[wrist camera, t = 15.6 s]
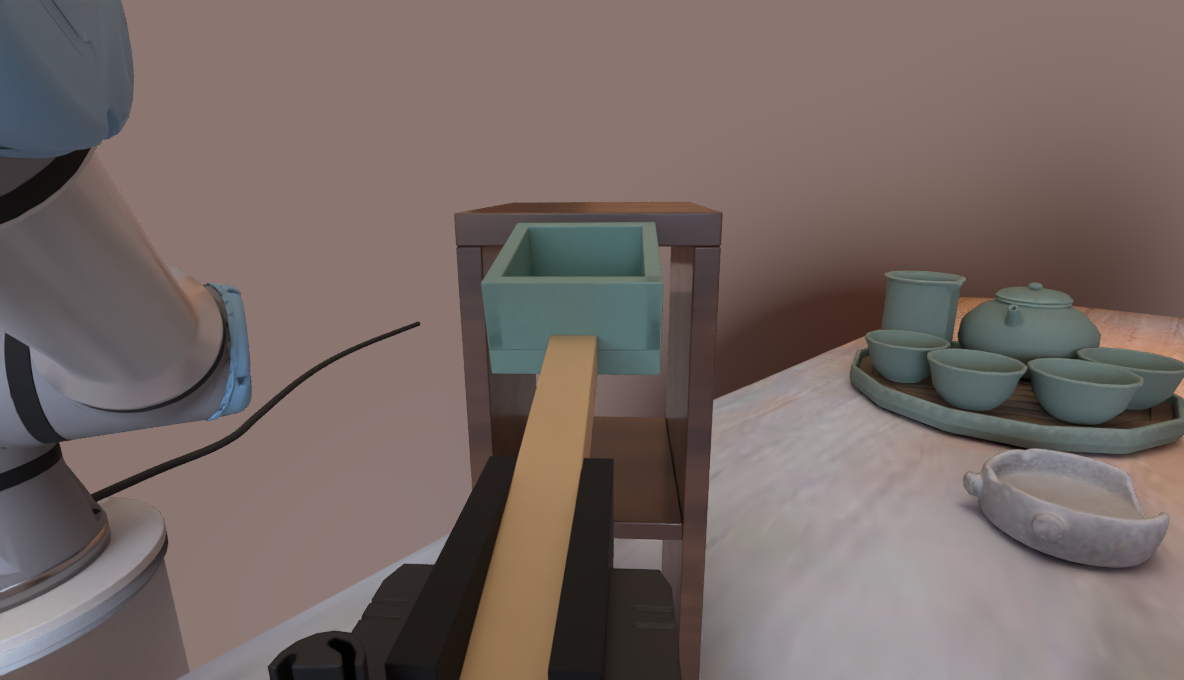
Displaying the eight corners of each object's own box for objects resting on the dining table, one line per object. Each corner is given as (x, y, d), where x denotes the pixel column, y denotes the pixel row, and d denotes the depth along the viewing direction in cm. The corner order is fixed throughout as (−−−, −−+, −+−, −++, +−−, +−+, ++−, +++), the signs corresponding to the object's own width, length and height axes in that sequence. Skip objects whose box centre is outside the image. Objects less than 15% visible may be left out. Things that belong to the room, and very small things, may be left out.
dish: (1083, 491, 61) (1093, 447, 59) (1211, 579, 47) (1228, 524, 46) (938, 487, 62) (945, 444, 60) (1023, 572, 48) (1035, 518, 47)
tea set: (836, 420, 79) (849, 300, 75) (862, 348, 113) (872, 262, 108) (1247, 491, 60) (1297, 337, 56) (1131, 379, 94) (1156, 278, 90)
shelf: (528, 580, 48) (512, 202, 40) (676, 585, 47) (690, 201, 39) (488, 738, 34) (453, 213, 26) (695, 748, 33) (722, 212, 26)
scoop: (523, 296, 27) (517, 222, 25) (653, 296, 27) (655, 221, 25) (288, 869, 8) (209, 729, 7) (706, 896, 8) (727, 754, 6)
